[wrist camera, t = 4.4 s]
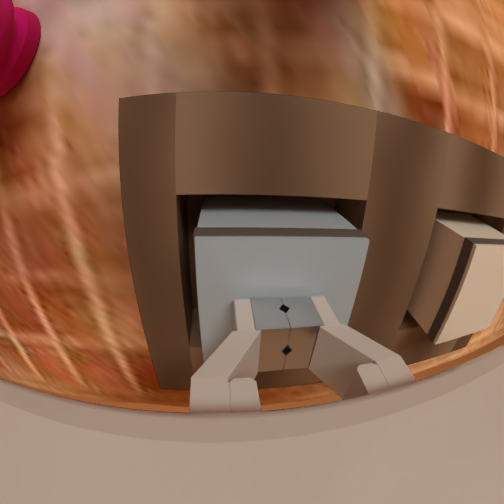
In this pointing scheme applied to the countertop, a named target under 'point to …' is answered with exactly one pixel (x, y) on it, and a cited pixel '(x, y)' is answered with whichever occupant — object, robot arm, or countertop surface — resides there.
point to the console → (290, 185)
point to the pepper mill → (16, 43)
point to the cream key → (459, 278)
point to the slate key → (272, 257)
